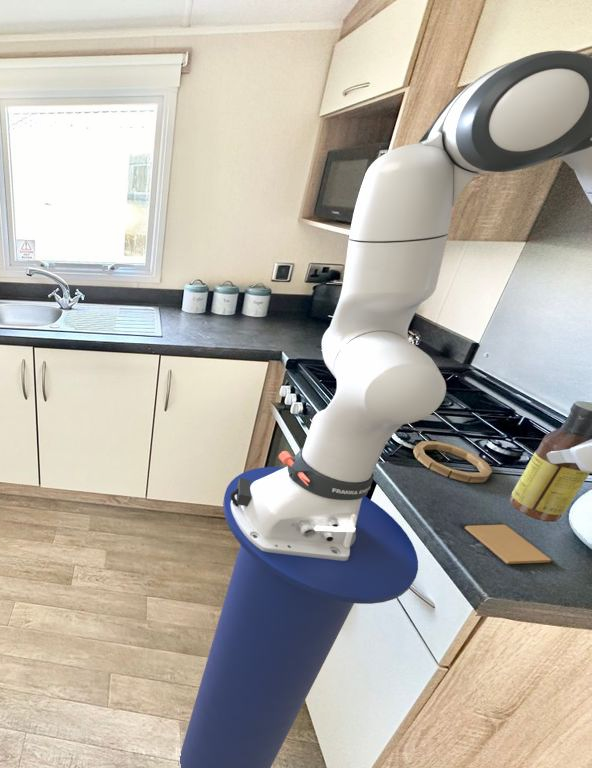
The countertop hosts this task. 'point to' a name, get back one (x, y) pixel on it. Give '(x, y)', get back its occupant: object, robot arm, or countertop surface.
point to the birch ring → (446, 471)
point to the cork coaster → (507, 544)
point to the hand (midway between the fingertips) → (562, 452)
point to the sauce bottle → (554, 469)
